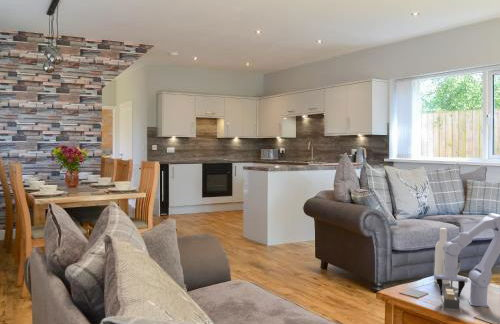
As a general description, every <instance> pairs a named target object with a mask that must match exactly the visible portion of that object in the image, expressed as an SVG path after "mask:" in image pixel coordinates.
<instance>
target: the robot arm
mask: <svg viewBox="0 0 500 324" xmlns="http://www.w3.org/2000/svg"><path fill="white" fill-rule="evenodd" d="M488 229H491V230H492V231H493V234H494V236H493V238H492V240H491V241H490V244H489V245H488V247H487V249H486V251H485V252H484V254H483V256H482V257H481V260H480V261H479V263H478V264H476V265H475V266H474V267H473V269H471V270H470V271H469V272H468V277H463V276H458V273H457V266H458V260H459V258H458V257H459V255H460V253H461V251H462V249H464V248H465V247H467V246H468V245H469V244H471V243H472V242H473V238H475V237H476V236H478V235H479V234H481V233H483V232H484V231H486V230H488ZM443 250H444V252H445V264H444V275H434V274H433V275H434V276H433V281H434V280H437V283H436V284H438V285H437V286H438V288H439V293H440V294H439V295H440V296H443V284H442V280H448V281H449V282H451V281H453V282H458V283H457V285H458V286H457V287H458V291H457V298H460V297H461V294H462V291H463V288H464V287H465V286H466V284H467V283H468V278H469V280H470V296H469V298H468V299H467V300H468V303H469V305H470V306H476V307H483V308H490V305H489V304H488V291H489V290H488V287H489V286H490V284H491V279H492V276H493V274H492V273H493V272H492V268H493V267H494V265H495V263H496V262H497V259H498V258H499V256H500V214H497V213H495V212H491V213H489V214H488V215H485V216H484V217H483V218H482V220H480V221H479V222H478V223H477V224H476V225H474V226H473V227H471V228H470V230H468V231H462V232H459V233H458V235H457V236H456V237H455V238H454V237H453V238H452V239H450V241H447V242H446V243H445V244H444V247H443Z"/></svg>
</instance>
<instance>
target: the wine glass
mask: <svg viewBox="0 0 500 324" xmlns="http://www.w3.org/2000/svg"><path fill="white" fill-rule="evenodd" d="M461 263H462V262H461V260H459V259H458V266H457V274H459V272H460V270H461ZM444 264H445V259H444ZM453 282H454V281H450V286H444V287H443V289H445V290H446V289H453V291H455V292H458V288H457V287H456V286H455V287H454V285H453Z"/></svg>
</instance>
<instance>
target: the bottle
mask: <svg viewBox="0 0 500 324" xmlns="http://www.w3.org/2000/svg"><path fill="white" fill-rule="evenodd" d="M447 238H448V229H447V228H446V227H440V228H439V240H438V241H437V242H436V244H435V247H434V249H435V250H434V270H433V272H434V273H433V275H444V259H445V252H444V250H443V247H444V244H445V243H446V242H448V240H447ZM433 281H434V283H435V284H438V283H437V280H434V279H433ZM449 284H450V281H448V280H442V285H449Z"/></svg>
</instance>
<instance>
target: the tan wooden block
mask: <svg viewBox="0 0 500 324" xmlns="http://www.w3.org/2000/svg"><path fill="white" fill-rule="evenodd" d="M444 297H446V299H452V300H455V297H456V296H455V292H454V291H453V289H445V295H444Z"/></svg>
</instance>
